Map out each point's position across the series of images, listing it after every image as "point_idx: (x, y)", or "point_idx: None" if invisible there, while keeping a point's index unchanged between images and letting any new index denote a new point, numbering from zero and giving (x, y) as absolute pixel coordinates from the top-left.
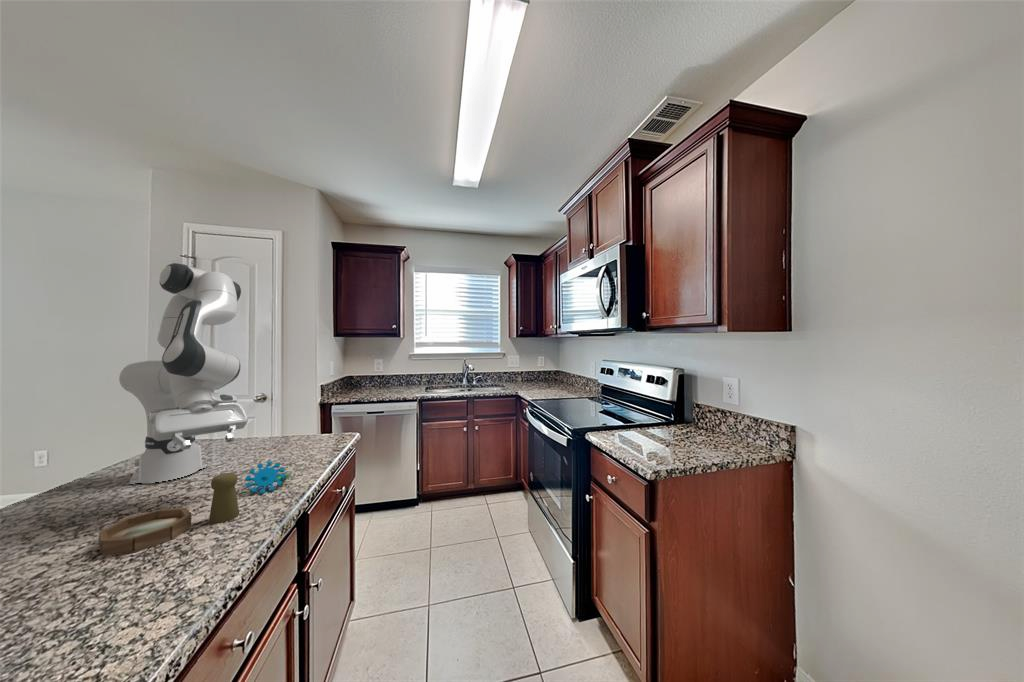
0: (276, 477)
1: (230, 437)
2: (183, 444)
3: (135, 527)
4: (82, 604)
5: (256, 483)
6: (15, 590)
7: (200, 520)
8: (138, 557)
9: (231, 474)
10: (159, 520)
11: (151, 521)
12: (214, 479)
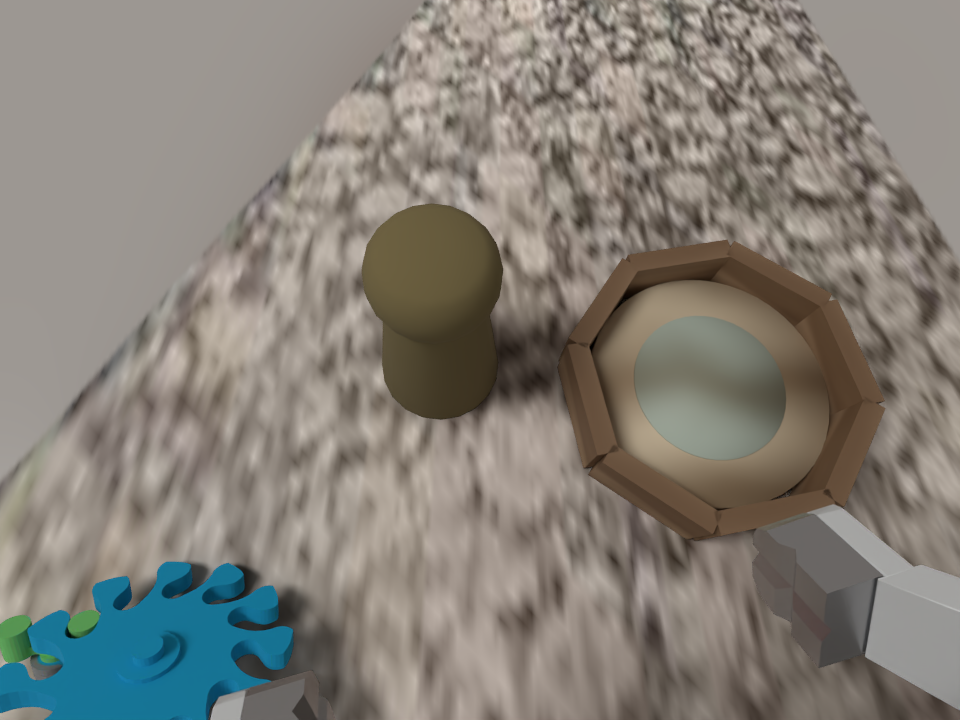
0: (96, 625)
1: (269, 688)
2: (853, 517)
3: (767, 463)
4: (737, 69)
5: (230, 630)
6: (937, 246)
7: (527, 409)
8: (682, 224)
9: (393, 231)
10: (689, 478)
11: (720, 491)
12: (487, 233)
